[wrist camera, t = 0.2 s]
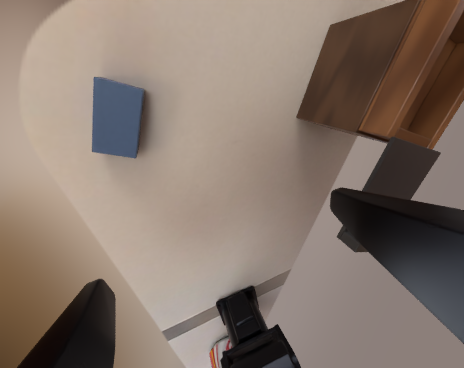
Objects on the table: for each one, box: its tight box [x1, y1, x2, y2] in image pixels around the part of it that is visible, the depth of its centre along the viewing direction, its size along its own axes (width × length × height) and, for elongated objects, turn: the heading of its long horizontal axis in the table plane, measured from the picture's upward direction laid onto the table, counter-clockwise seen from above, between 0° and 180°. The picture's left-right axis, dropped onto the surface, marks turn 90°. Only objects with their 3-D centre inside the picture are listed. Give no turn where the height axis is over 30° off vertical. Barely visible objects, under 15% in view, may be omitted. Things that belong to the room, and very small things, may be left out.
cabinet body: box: [297, 0, 421, 144], centre depth 19 cm, size 9×6×8 cm
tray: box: [359, 0, 464, 149], centre depth 15 cm, size 8×6×2 cm
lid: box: [337, 137, 440, 252], centre depth 15 cm, size 8×6×2 cm
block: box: [92, 77, 145, 158], centre depth 17 cm, size 6×3×2 cm, turn 164°
